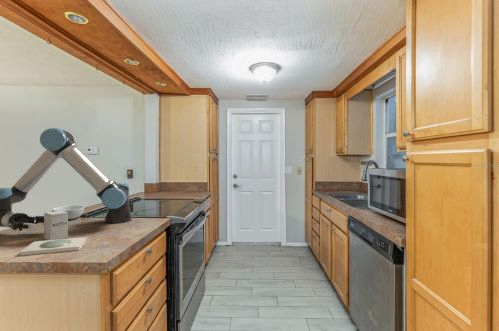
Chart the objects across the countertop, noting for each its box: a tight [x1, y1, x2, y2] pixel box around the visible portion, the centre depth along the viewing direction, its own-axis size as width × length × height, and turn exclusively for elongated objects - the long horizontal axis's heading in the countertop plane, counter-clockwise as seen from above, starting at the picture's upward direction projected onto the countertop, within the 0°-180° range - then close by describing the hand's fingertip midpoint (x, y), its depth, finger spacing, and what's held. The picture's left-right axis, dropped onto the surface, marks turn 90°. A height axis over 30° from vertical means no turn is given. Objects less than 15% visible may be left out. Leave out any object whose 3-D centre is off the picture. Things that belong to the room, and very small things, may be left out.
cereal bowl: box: [51, 205, 85, 221], centre depth 168 cm, size 17×17×7 cm
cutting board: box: [19, 236, 87, 256], centre depth 114 cm, size 20×14×2 cm
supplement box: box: [43, 211, 69, 241], centre depth 127 cm, size 7×7×13 cm
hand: (49, 223), depth 127 cm, fingers open, 13 cm apart
